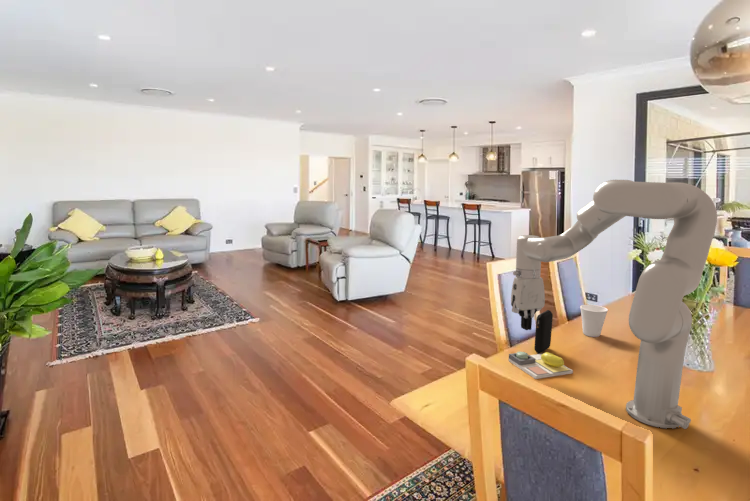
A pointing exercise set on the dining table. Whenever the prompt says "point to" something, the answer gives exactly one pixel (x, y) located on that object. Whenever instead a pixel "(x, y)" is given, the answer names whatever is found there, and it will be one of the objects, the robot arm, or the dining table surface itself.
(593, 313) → the cup
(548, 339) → the carrying case or bag
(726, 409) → the dining table surface
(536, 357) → the picture board
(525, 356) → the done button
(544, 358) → the lemon
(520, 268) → the robot arm
